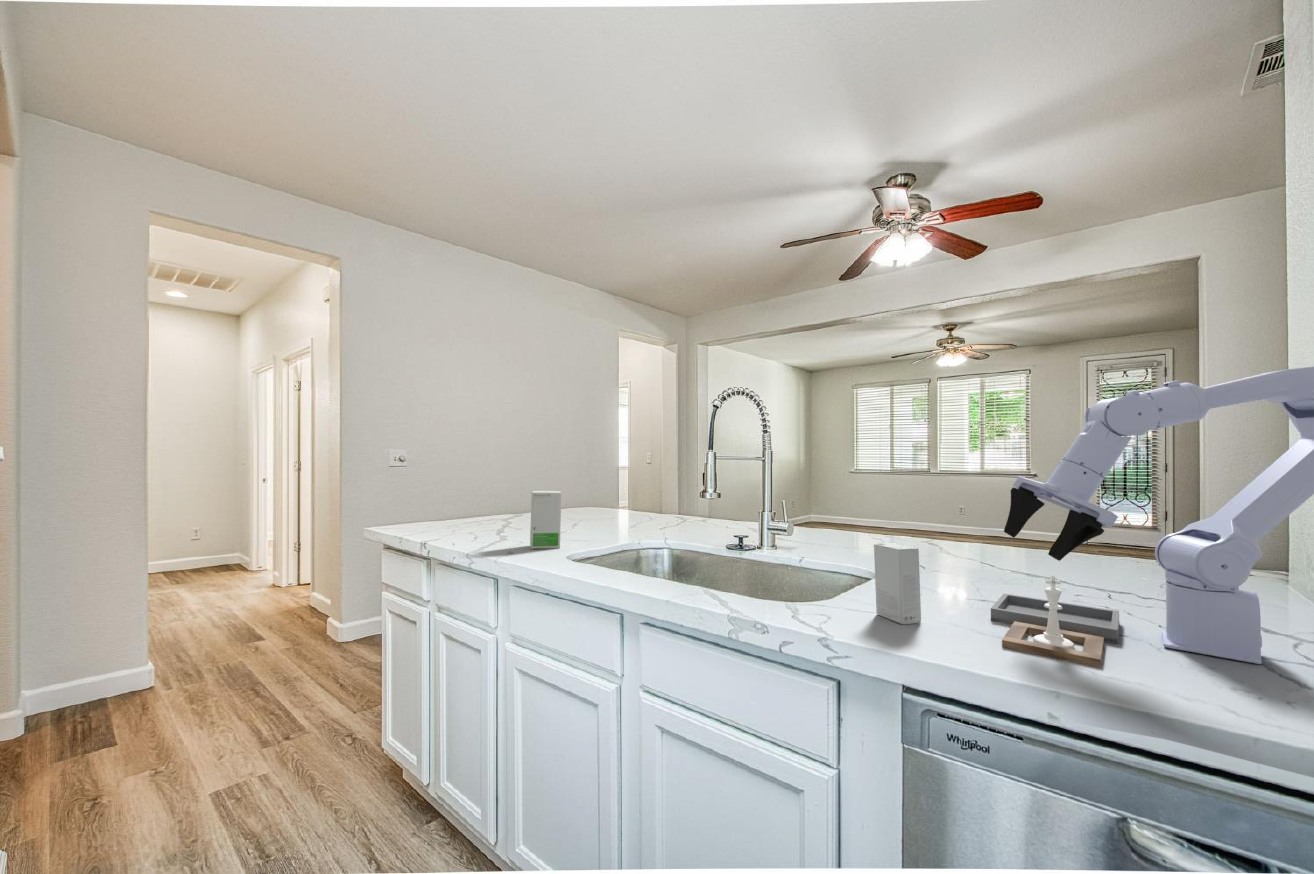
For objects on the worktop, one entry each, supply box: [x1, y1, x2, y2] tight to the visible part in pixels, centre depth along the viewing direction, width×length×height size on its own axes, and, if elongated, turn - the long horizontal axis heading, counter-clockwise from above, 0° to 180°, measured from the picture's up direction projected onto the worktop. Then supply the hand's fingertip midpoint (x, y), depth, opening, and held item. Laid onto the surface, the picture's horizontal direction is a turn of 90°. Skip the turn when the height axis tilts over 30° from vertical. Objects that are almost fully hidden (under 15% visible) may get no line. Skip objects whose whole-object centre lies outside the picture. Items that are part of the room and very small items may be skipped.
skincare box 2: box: [873, 542, 922, 625], centre depth 92 cm, size 6×4×12 cm
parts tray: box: [990, 593, 1120, 645], centre depth 90 cm, size 16×12×2 cm
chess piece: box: [1032, 575, 1076, 650], centre depth 79 cm, size 5×5×10 cm
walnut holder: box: [1001, 621, 1105, 668], centre depth 79 cm, size 11×11×1 cm
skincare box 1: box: [529, 490, 562, 550], centre depth 155 cm, size 8×7×16 cm
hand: (1030, 545), depth 84 cm, fingers open, 7 cm apart
